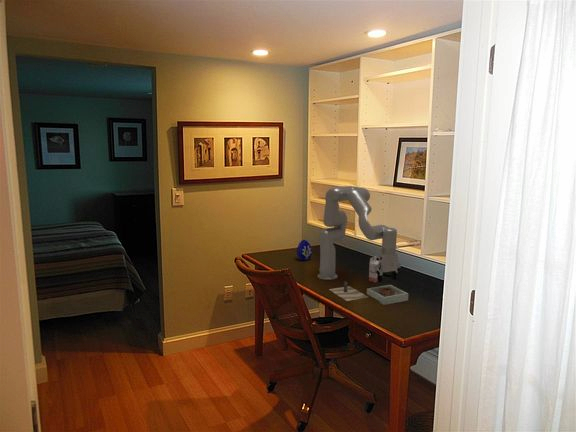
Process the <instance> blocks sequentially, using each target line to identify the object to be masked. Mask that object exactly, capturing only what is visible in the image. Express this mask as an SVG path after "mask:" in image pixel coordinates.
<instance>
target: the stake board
mask: <svg viewBox="0 0 576 432" xmlns="http://www.w3.org/2000/svg"><path fill="white" fill-rule="evenodd" d="M329 291H330V292H332V293H333V294H335V295H336V296H338V297H340V298H341V299H343V300H345V301H347V302H349V301H353V300H354V301H355V300H360V299H366V298H369V295H366V294H364V293H362V292H360V291H359V290H358V289H355V288H354V287H352V286H350V285H349V286H348V282H347V281H343V286H342V287H336V288H335V287H334V288H330V289H329Z"/></svg>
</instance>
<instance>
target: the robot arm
mask: <svg viewBox="0 0 576 432" xmlns="http://www.w3.org/2000/svg"><path fill="white" fill-rule="evenodd" d="M370 199H371V193H370V192H369V190H368V189H367V188H365V187H358V186H353V185H346V186H335V187H331V188H329V189H328V190H327V191H326V193H325V205H324V212H323V213H324V214H323V225H324V226H325V227H326V228H323V229H321V230H320V231H319V234H318V242H319V246H320V247H319V252H320V254H319V262H320V263H319V269H318V271H319V273H318V274H317V278H318V279H320V280H323V281H324V280H325V281H331V280H332V281H333V280H336V279H337V278H338V274H337V273H336V247H335V245H334V243H339V242H341V241H343V240H344V239H345V236H346V230H347V224H348V217H347V213H346V212H345V211H344V210H340V204H339V202H344V201H345V202H346V201H348V202H349V204H350V206H351V207H352V208H353V210H354V211H355V213H356V214H357V216H358V227H359V230H360V231H361V233H362V234H363V235H364V237H365V238H366V239H367V240H369V241H375V240H381V248H380V249H379V251H380V253H379V258H378V261H379V264H378V265H377V266H375V267H374V270H375V272H376V273H377V274H378V275H377V281H378V282H379V283H382V282H383V273H384V272H391V271H393V272H392V275H391V279H392V280H394V281H397V277H398V276H397V275H398V273H399V271H400V269H401V266H402V264H401V263H399V260H398V253H397V238H398V237H397V236H398V231H397V229H396V228H395V227H389V226H387V225H385V224H378V225H373V226H372V224H370V222H369V220H368V216H369V214H371V212H372V206H371V205H370V203H369V201H370ZM378 269H379V270H378ZM380 271H381V272H380Z"/></svg>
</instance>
